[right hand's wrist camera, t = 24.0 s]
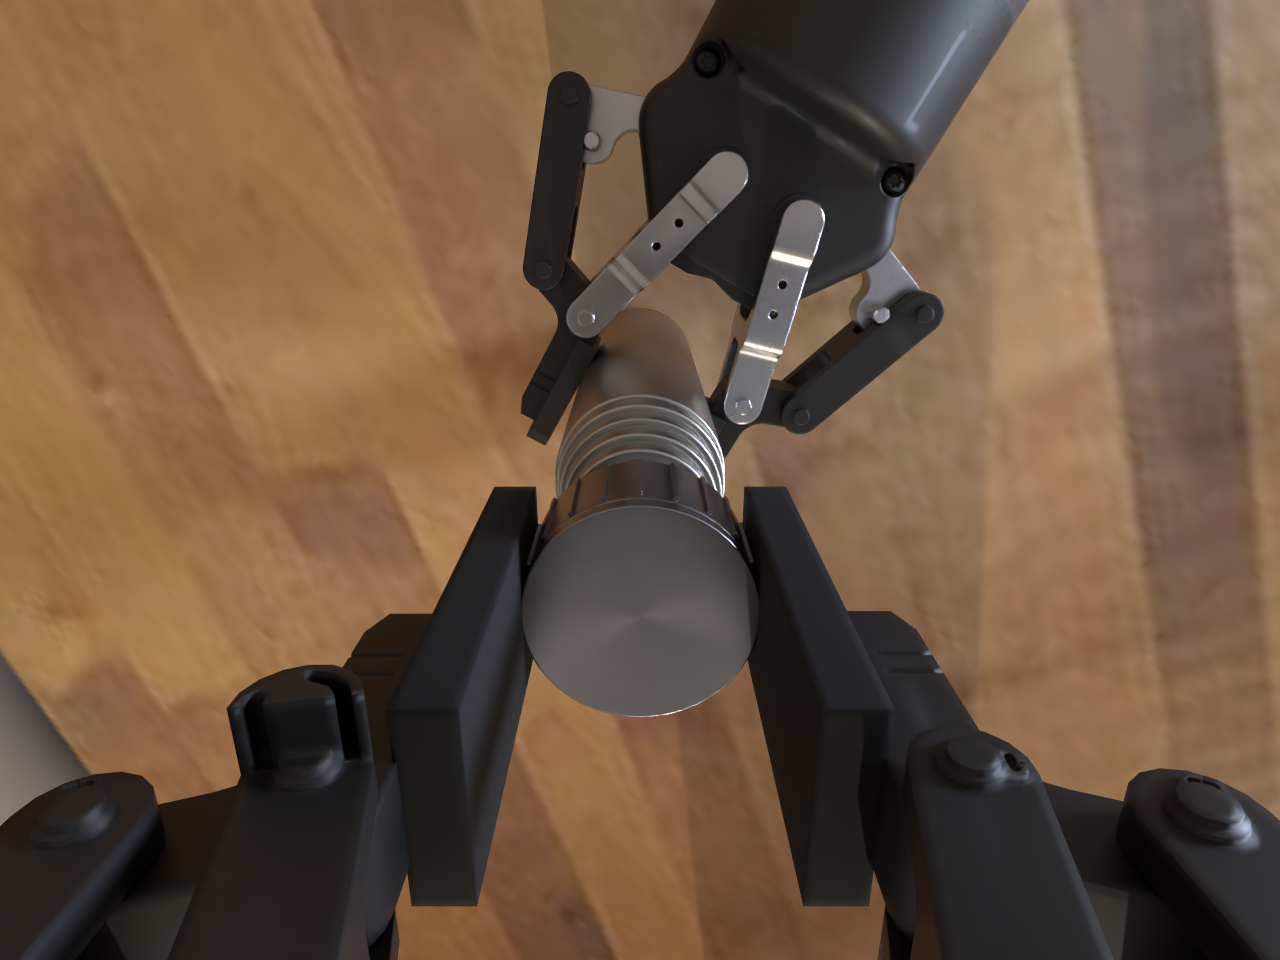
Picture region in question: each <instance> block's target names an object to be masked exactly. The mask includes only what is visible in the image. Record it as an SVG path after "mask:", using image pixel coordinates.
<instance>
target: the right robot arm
mask: <svg viewBox="0 0 1280 960" xmlns="http://www.w3.org/2000/svg"><path fill="white" fill-rule="evenodd" d="M537 526H538V517H537V497H536V487H494V489H493V491H492V493H491V495H490V497H489V499H488V501H487V503H486V505H485V507H484V509H483V511H482V513H481V515H480V517H479V519H478V522H477V524H476V526H475V528H474V530H473V532H472V534H471V536H470V538H469V540H468V542H467V544H466V546H465V548H464V550H463V552H462V554H461V556H460V558H459V560H458V562H457V565H456V567H455V569H454V571H453V573H452V575H451V577H450V579H449V581H448V583H447V585H446V587H445V589H444V591H443V593H442V595H441V597H440V599H439V601H438V603H437V606H436V608H435V610H434V612H433V614H389V615H388V616H386V617H385V618H384V619H382V620H381V621H379V622H378V623H377V624H375V625H374V626H372V627H371V628H370V629H368V630H367V631H366V632H364V634H363V636H362V637H361V639H360V640H359V642H358V644H357V645H356V647H355V649H354V650H353V652H352V653H351V658H348V660H347V661H346V663H345V665H344V666H343V668H342V667H338V666H334V665H306V666H301V667H296V668H291V669H286V670H282V671H280V672H277V673H275V674H272V675H270V676H267V677H265V678H262V679H260V680H258V681H256V682H255V683H253V684H252V685H250V686H249V687H247V688H246V689H244V690H243V691H241V692H240V693H239V694H238V695H237V696H236V698H235V699H234V700H233V701H232V702H231V704H230V705H229V706H228V707H227V712H228V717H229V722H230V726H231V731H232V735H233V740H234V745H235V749H236V754H237V759H238V763H239V768H240V772H241V776H240V779H239V781H238V784H237V785H236V786H234V787H230V788H227V789H223V790H220V791H217V792H213V793H209V794H204V795H200V796H195V797H191V798H186V799H182V800H177V801H172V802H168V803H163V804H159V805H158V803H157V799H156V795H155V792H154V788H153V786H152V785H151V784H150V783H149V782H148V781H147V780H146V779H145V778H144V777H142V776H140V775H135V774H130V773H125V772H113V773H103V774H94V775H91V776H87V777H83V778H81V779H76V780H73V781H70V782H67V783H64V784H62V785H60V786H58V787H56V788H54V789H52V790H50V791H48V792H46V793H44V794H42V795H40V796H38V797H36V798H35V799H33V800H32V801H31V802H29V803H28V804H27V805H25V806H24V807H23V808H21V809H20V810H19V811H17V812H16V813H15V814H13V815H12V816H11V817H10V818H8V819H7V820H6V821H5V822H4V823H3V824H2V825H1V826H0V960H397V959H398V949H399V934H398V927H397V920H396V913H395V907H396V904H397V901H398V898H399V895H400V892H401V889H402V886H403V883H404V880H405V877H406V874H408V881H409V889H410V896H411V904H412V906H477V904H478V900H479V895H480V891H481V886H482V882H483V878H484V873H485V869H486V864H487V860H488V856H489V851H490V847H491V842H492V838H493V834H494V829H495V825H496V820H497V816H498V811H499V807H500V803H501V798H502V794H503V789H504V785H505V781H506V776H507V772H508V767H509V763H510V759H511V754H512V750H513V745H514V741H515V737H516V732H517V728H518V723H519V719H520V715H521V710H522V706H523V701H524V697H525V693H526V688H527V684H528V679H529V675H530V671H531V666H532V662H533V657H532V656H531V654H530V651H529V649H528V647H527V645H526V642H525V639H524V635H523V622H522V604H521V595H522V590H523V585H524V582H525V579H526V575H527V572H528V568H527V567H525V566H526V562H527V559H528V556H529V553H530V549H531V546H532V543H533V539H534V536H535V533H536V530H537ZM743 527H744V530H745V533H746V536H747V540H748V543H749V546H750V549H751V553H752V556H753V559H754V562H755V566H752V569H753V572H754V576H755V579H756V582H757V586H758V589H759V614H758V630H757V639H756V642H755V645H754V647H753V649H752V651H751V654H750V656H749V658H748V659H747V660H748V664H749V668H750V673H751V677H752V682H753V686H754V690H755V695H756V699H757V704H758V708H759V712H760V717H761V721H762V726H763V730H764V734H765V739H766V743H767V748H768V752H769V756H770V761H771V765H772V770H773V774H774V778H775V783H776V787H777V792H778V796H779V800H780V805H781V809H782V814H783V818H784V823H785V827H786V831H787V836H788V840H789V845H790V849H791V853H792V858H793V862H794V867H795V871H796V875H797V880H798V884H799V889H800V893H801V897H802V902H803V906H869V900H870V892H871V885H872V877H873V870H874V872H875V875H876V878H877V881H878V884H879V887H880V889H881V892H882V895H883V898H884V901H885V904H886V906H885V913H884V920H883V927H882V934H881V941H880V948H879V955H878V960H1280V821H1279V820H1278V819H1277V818H1276V817H1275V816H1274V815H1273V814H1272V813H1271V812H1269V811H1268V810H1267V809H1265V808H1264V807H1263V806H1261V805H1260V804H1259V803H1257V802H1256V801H1254V800H1253V799H1252V798H1250V797H1249V796H1248V795H1246V794H1244V793H1242V792H1240V791H1238V790H1236V789H1234V788H1232V787H1230V786H1228V785H1226V784H1224V783H1222V782H1220V781H1218V780H1216V779H1212V778H1210V777H1207V776H1202V775H1200V774H1196V773H1192V772H1189V771H1182V770H1172V769H1161V768H1160V769H1155V770H1150V771H1145V772H1140V773H1139V774H1138V775H1137V776H1135V777H1134V778H1133V779H1132V780H1131V781H1130V782H1129V783H1128V786H1127V790H1126V794H1125V798H1124V801H1119V800H1114V799H1110V798H1105V797H1101V796H1096V795H1091V794H1087V793H1082V792H1078V791H1073V790H1069V789H1065V788H1062V787H1058V786H1055V785H1051V784H1048V783H1045V782H1043V781H1042V780H1041V778H1040V775H1039V773H1038V772H1037V770H1036V769H1035V767H1034V766H1033V765H1032V763H1031V762H1030V760H1029V759H1028V757H1026V756H1025V755H1024V754H1023V753H1021V752H1020V751H1019V750H1017V749H1016V748H1015V747H1013V746H1012V745H1011V744H1009V743H1008V742H1006V741H1004V740H1001V739H999V738H997V737H995V736H993V735H990V734H988V733H986V732H982V731H979V729H978V728H977V726H976V724H975V723H974V721H973V720H972V718H971V716H970V715H969V713H968V712H967V710H966V708H965V707H964V705H963V704H962V702H961V700H960V699H959V697H958V696H957V694H956V692H955V691H954V689H953V688H952V686H951V684H950V683H949V681H948V680H947V678H946V676H945V675H944V673H941V668H940V667H939V665H938V664H937V662H936V660H935V659H934V657H933V656H932V655H930V651H929V649H928V648H927V646H926V644H925V643H924V641H923V640H922V638H921V636H920V635H919V633H918V632H917V630H916V629H915V628H913V627H912V626H910V625H909V624H908V623H906V622H905V621H904V620H902V619H901V618H899V617H898V616H897V615H895V614H894V613H892V612H891V611H846V608H845V606H844V604H843V602H842V600H841V598H840V596H839V594H838V592H837V590H836V588H835V586H834V584H833V582H832V580H831V578H830V576H829V574H828V572H827V570H826V568H825V566H824V563H823V561H822V559H821V557H820V555H819V553H818V551H817V549H816V547H815V545H814V543H813V541H812V539H811V537H810V535H809V533H808V531H807V529H806V527H805V525H804V523H803V520H802V518H801V516H800V514H799V512H798V510H797V508H796V506H795V504H794V502H793V500H792V498H791V496H790V494H789V492H788V490H787V488H786V487H744V507H743Z"/></svg>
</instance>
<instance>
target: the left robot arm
mask: <svg viewBox="0 0 1280 960" xmlns="http://www.w3.org/2000/svg"><path fill="white" fill-rule="evenodd" d="M1028 1H1029V0H716V1H715V3H714V5H713V7H712V9H711V11H710V13H709V15H708V17H707V19H706V20H705V22H704V24H703V26H702V28H701V30H700V32H699V34H698V36H697V38H696V40H695V42H694V44H693V46H692V48H691V49H690V51H689V53H688V55H687V57H686V59H685V60H684V62H683V63H682V64H681V66H680V67H679V68H678V69H677V70H676V71H675V72H674V73H673V74H671V75H670V76H669V77H668V78H666V79H665V80H663V81H662V82H660V83H658V84H657V85H656V86H655V87H653V88H652V89H651V91H650V92H649V93H648V94H647V96H646V97H644V96H639V95H635V94H630V93H626V92H621V91H616V90H612V89H607V88H603V87H598V86H593V85H590V84H588V83H587V82H586V80H585V79H584V78H583V77H582V76H581V75H579V74H577V73H575V72H571V71H566V72H562V73H560V74H558V75H556V76H555V77H554V78H553V79H552V81H551V82H550V85H549V87H548V92H547V99H546V106H545V113H544V121H543V128H542V135H541V142H540V149H539V156H538V163H537V170H536V178H535V185H534V192H533V199H532V206H531V213H530V220H529V227H528V235H527V242H526V249H525V256H524V263H523V273H524V276H525V278H526V280H527V281H528V283H529V284H530V285H532V286H533V287H535V288H537V289H538V290H539V291H540V292H541V293H542V294H543V295H544V296H545V298H546V299H547V300H548V301H549V302H550V303H551V304H552V306H553V307H554V309H555V311H556V313H557V316H558V328H557V331H556V333H555V335H554V337H553V339H552V341H551V343H550V345H549V347H548V349H547V351H546V353H545V354H544V356H543V358H542V360H541V362H540V364H539V366H538V368H537V370H536V372H535V373H534V375H533V377H532V379H531V381H530V383H529V385H528V387H527V389H526V391H525V393H524V394H523V396H522V405H521V413H522V414H523V415H525V416H527V417H529V418H531V419H533V420H534V421H533V423H532V425H531V427H530V429H529V431H528V433H527V436H528V437H530V438H532V439H534V440H536V441H538V442H539V443H541V444H543V445H546V444H547V442H548V440H549V438H550V437H551V435H552V433H553V431H554V429H555V428H556V426H557V424H558V422H559V420H560V418H561V417H562V415H563V413H564V411H565V409H566V407H567V406H568V404H569V402H570V400H571V398H572V396H573V395H574V393H575V391H576V389H577V387H578V386H579V384H580V382H581V379H582V377H583V375H584V373H585V371H586V370H587V368H588V367H589V365H590V364H591V362H592V360H593V358H594V356H595V354H596V353H597V351H598V348H599V344H600V340H601V337H599V334H600V332H601V331H602V330H603V329H604V328H605V327H606V326H607V325H608V324H609V323H610V322H611V321H612V320H613V319H614V318H615V317H616V316H617V315H618V313H619V312H620V311H621V310H622V309H623V308H624V307H625V306H626V305H627V304H628V303H629V302H630V301H631V300H632V299H633V298H634V297H635V296H636V295H637V294H638V293H639V292H640V291H642V290H643V289H644V288H645V287H647V286H648V285H649V284H650V283H651V282H652V281H653V280H654V279H655V278H656V277H657V276H658V275H659V274H660V273H661V271H662V270H663V269H664V268H665V267H666V266H667V265H668V264H669V263H671V264H673V265H675V266H677V267H678V268H680V269H682V270H683V271H685V272H687V273H690V274H694V275H698V276H702V277H705V278H709V279H712V280H714V281H715V282H716V283H717V284H718V285H719V286H720V287H721V288H722V289H723V290H724V291H725V292H726V293H727V294H728V295H729V296H730V297H731V298H732V299H733V300H735V301H736V302H738V306H737V310H736V313H735V317H734V320H733V325H732V331H731V339H730V342H729V346H728V349H727V353H726V357H725V360H724V364H723V367H722V371H721V374H720V378H719V381H718V385H717V387H716V389H715V390H714V392H713V394H712V395H711V397H710V398H708V397H706V396H705V398H706V401H707V404H708V408H709V411H710V414H711V417H712V420H713V423H714V427H715V430H716V433H717V436H718V439H719V443H720V446H721V449H722V453H723V457H724V459H725V457H726V456H727V454H728V453H729V451H730V450H731V448H732V446H733V445H734V443H735V442H736V440H737V438H738V437H739V435H740V434H741V433H742V432H743V431H744V430H745V429H746V428H748V427H750V426H752V425H755V424H768V425H774V426H781V427H786V429H787V430H788V431H790V432H792V433H794V434H805V433H808V432H810V431H811V430H813V429H814V428H815V427H816V426H818V425H819V424H820V423H821V422H822V421H824V420H825V419H826V418H827V417H829V416H830V415H831V414H832V413H833V412H835V411H836V410H837V409H838V408H839V407H841V406H842V405H843V404H844V403H846V402H847V401H848V400H849V399H850V398H852V397H853V396H854V395H855V394H857V393H858V392H859V391H860V390H861V389H863V388H864V387H865V386H866V385H867V384H869V383H870V382H871V381H872V380H874V379H875V378H876V377H877V376H878V375H880V374H881V373H882V372H883V371H884V370H886V369H887V368H888V367H889V366H891V365H892V364H893V363H894V362H895V361H897V360H898V359H899V358H900V357H902V356H903V355H904V354H905V353H906V352H908V351H909V350H910V349H911V348H912V347H914V346H915V345H916V344H917V343H919V342H920V341H921V340H922V339H923V338H925V337H926V336H927V335H928V334H930V333H931V332H932V331H933V330H934V329H936V328H937V327H938V326H939V324H940V323H941V321H942V319H943V316H944V306H943V304H942V302H941V300H940V299H939V298H938V297H936V296H935V295H932V294H930V293H929V292H927V291H924V290H922V289H920V288H919V286H918V285H917V284H916V282H915V281H914V280H913V279H912V277H911V276H910V275H909V273H908V272H907V271H906V270H905V268H904V267H903V266H902V264H901V263H900V262H899V260H898V259H897V258H896V257H895V255H894V254H893V253H892V251H891V250H890V247H891V245H892V243H893V240H894V236H895V229H896V219H897V214H898V210H899V207H900V204H901V201H902V199H903V197H904V195H905V193H906V192H907V190H908V189H909V187H910V186H911V184H912V183H913V181H914V180H915V178H916V177H917V175H918V174H919V172H920V171H921V169H922V167H923V166H924V164H925V163H926V161H927V160H928V158H929V157H930V155H931V153H932V152H933V150H934V149H935V147H936V146H937V144H938V142H939V141H940V139H941V138H942V136H943V135H944V133H945V131H946V130H947V128H948V127H949V125H950V124H951V122H952V120H953V119H954V117H955V116H956V114H957V113H958V111H959V109H960V108H961V106H962V105H963V103H964V102H965V100H966V98H967V97H968V95H969V94H970V92H971V91H972V89H973V87H974V86H975V84H976V83H977V81H978V80H979V78H980V76H981V75H982V73H983V72H984V70H985V69H986V67H987V65H988V64H989V62H990V61H991V59H992V58H993V56H994V54H995V53H996V51H997V50H998V48H999V47H1000V45H1001V43H1002V42H1003V40H1004V39H1005V37H1006V36H1007V34H1008V32H1009V31H1010V29H1011V27H1012V26H1013V24H1014V23H1015V21H1016V20H1017V18H1018V17H1019V15H1020V14H1021V12H1022V11H1023V9H1024V7H1025V6H1026V4H1027V3H1028ZM630 132H639V137H640V146H641V156H642V165H643V174H644V184H645V193H646V203H647V212H648V220H647V221H646V222H645V223H644V224H643V225H642V226H641V227H640V228H639V229H638V230H637V231H636V232H635V233H634V234H633V236H632V237H631V238H630V239H629V240H628V241H627V242H626V243H625V244H624V245H623V246H622V247H621V248H620V249H619V250H618V252H617V253H616V254H615V255H614V256H613V257H612V258H611V259H610V260H609V261H608V263H607V264H606V265H605V266H604V267H603V268H602V269H601V270H600V271H599V272H598V273H597V274H596V275H595V276H594V277H593V278H592V279H591V280H590V281H589V279H588V278H587V277H586V276H585V275H584V274H583V272H582V271H581V270H580V269H579V268H578V267H577V265H576V264H575V263H574V262H573V261H572V260H571V256H572V250H573V243H574V237H575V231H576V225H577V218H578V212H579V206H580V200H581V193H582V187H583V181H584V175H585V168H586V163H587V164H592V165H598V164H602V163H604V162H605V161H607V160H608V159H609V158H610V156H611V155H612V153H613V150H614V147H615V144H616V142H617V141H618V140H619V138H621V137H622V136H623V135H624V134H627V133H630ZM860 272H861V273H862V285H861V288H860V290H859V292H858V293H857V294H856V295H855V296H854V297H853V299H852V301H851V303H850V306H849V313H850V317H851V319H852V321H851V322H850V323H849V324H848V325H846V326H845V327H844V328H843V329H842V330H841V331H839V332H838V333H837V334H836V335H835V336H834V337H832V338H831V339H830V340H829V341H828V342H826V343H825V344H824V345H823V346H822V347H821V348H819V349H818V350H817V351H816V352H815V353H814V354H812V355H811V356H810V357H809V358H808V359H806V360H805V361H804V362H803V363H802V364H801V365H799V366H798V367H797V368H796V369H795V370H794V371H792V372H791V373H790V374H789V375H788V376H786V377H785V378H784V379H783V380H782V381H779V380H773V379H771V377H772V374H773V371H774V367H775V364H776V362H777V359H778V358H779V357H780V356H781V354H782V352H783V350H784V347H785V344H786V340H787V337H788V334H789V331H790V328H791V324H792V321H793V318H794V315H795V311H796V308H797V305H798V302H799V300H800V299H802V298H805V297H807V296H809V295H811V294H813V293H816V292H818V291H820V290H822V289H824V288H827V287H829V286H831V285H833V284H836V283H838V282H840V281H842V280H844V279H847V278H849V277H851V276H853V275H855V274H858V273H860Z"/></svg>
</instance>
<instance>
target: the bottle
mask: <svg viewBox="0 0 1280 960" xmlns="http://www.w3.org/2000/svg"><path fill="white" fill-rule="evenodd" d="M599 337H601V340H600V344H599V348H598V351H597V353H596V354H595V356H594V358H593V360H592V362H591V364H590V365H589V367H588V368H587V370H586V371H585V373H584V375H583V377H582V379H581V382H580V384H579V388H578V391H577V394H576V397H575V400H574V404H573V407H572V410H571V413H570V416H569V420H568V423H567V426H566V429H565V433H564V436H563V439H562V442H561V445H560V449H559V452H558V456H557V461H556V472H555V473H556V494H557V498H558V497H559V496H560V495H561V494H562V493H563V492H564V491H565V490H566V489H567V488H568V487H569V486H571V485H572V484H573V483H574V480H575V478H577V477H579V478H582V477H583V476H585V475H587V474H589V473H591V472H593V471H595V470H597V469H600V468H603V467H604V464H607V463H609V465H612V464H617V463H623V462H632V461H637V459H642V461H649V462H658V463H663V464H668V465H670V463H674V464H675V467H678V468H681V469H684V470H686V471H688V472H690V473H692V474H694V475H696V476H698V477H699V478H700V477H701V476H703V477H704V478H705V481H706V482H707V483H708V484H709V485H710V486H712V487H713V488H714V489H715V490H716V491H717V492H718V493H719V494H720V495H721V496H722V497H723V498H724V493H725V463H724V457H723V453H722V449H721V446H720V443H719V439H718V436H717V433H716V430H715V427H714V423H713V420H712V417H711V414H710V411H709V408H708V404H707V401H706V398H705V395H704V392H703V388H702V385H701V382H700V379H699V376H698V372H697V369H696V366H695V363H694V360H693V356H692V353H691V350H690V347H689V344H688V341H687V339H686V336H685V334H684V333H683V331H682V330H681V328H680V327H679V326H678V325H677V324H676V323H675V322H674V321H673V320H672V319H670V318H669V317H668V316H666V315H664V314H662V313H660V312H657V311H654V310H650V309H631V310H627V311H623V312H621V313H619V314H618V315H617V316H616V317H615V318H614V319H613V320H612V321H611V322H610V323H609V324H608V325H607V326H606V327H605V328H604V329H603V330H602V331H601V332H600V334H599Z"/></svg>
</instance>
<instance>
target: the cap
mask: <svg viewBox="0 0 1280 960" xmlns="http://www.w3.org/2000/svg"><path fill="white" fill-rule="evenodd" d="M752 566H755V562H754V559H753V556H752V553H751V549H750V546H749V543H748V540H747V536H746V533H745V530H744V527H743V524H742V522H741V523H738V521H737V519H736V516H735V514H734V512H733V511H732V509H731V507H730V504H729V500H728V498H727V497H726V496H725V497H724V498H723V497H722V496H721V495H720V494H719V493H718V492H717V491H716V490H715V489H714V488H713V487H712V486H710V485H709V484H708V483H707V482H706V481H705V478H704V477H703V476H701V477H700V478H699V477H698V476H696V475H694V474H692V473H690V472H688V471H686V470H684V469H681V468H678V467H675V464H674V463H670V465H668V464H663V463H658V462H649V461H642V459H637V461H632V462H623V463H617V464H612V465H609V463H607V464H604V467H603V468H600V469H597V470H595V471H593V472H591V473H589V474H587V475H585V476H583V477H582V478H579V477H577V478H575V480H574V483H573V484H572V485H571V486H569V487H568V488H567V489H566V490H565V491H564V492H563V493H562V494H561V495H560V496H559V497H558V498H557V499H556V498H553V500H552V501H551V505H550V508H549V511H548V512H547V514H546V516H545V518H544V520H543V523H542V525H541V524H538V526H537V530H536V533H535V536H534V539H533V543H532V546H531V549H530V553H529V556H528V559H527V562H526V566H525V567H527V568H528V572H527V575H526V579H525V582H524V585H523V590H522V595H521V604H522V622H523V635H524V639H525V642H526V645H527V647H528V649H529V651H530V654H531V656H532V657H533V659H534V661H535V662H536V664H537V666H538V667H539V668H540V670H541V671H542V672H543V673H544V675H545V676H546V677H547V678H548V679H549V680H550V681H551V682H552V683H553V684H554V685H555V686H556V687H557V688H558V689H560V690H561V691H563V692H564V693H565V694H567V695H568V696H569V697H571V698H573V699H575V700H576V701H578V702H580V703H582V704H584V705H586V706H589V707H591V708H593V709H596V710H599V711H603V712H606V713H610V714H615V715H621V716H630V717H652V716H660V715H666V714H671V713H675V712H678V711H682V710H685V709H687V708H690V707H692V706H695V705H697V704H699V703H701V702H703V701H705V700H707V699H708V698H710V697H712V696H713V695H714V694H716V693H717V692H719V691H720V690H721V689H723V688H724V687H725V686H726V685H727V684H728V683H729V682H730V681H731V680H732V679H733V678H734V677H735V676H736V675H737V673H738V672H739V671H740V670H741V669H742V667H743V665H744V664H745V662H746V661H747V659H748V658H749V656H750V654H751V651H752V649H753V647H754V645H755V642H756V639H757V630H758V614H759V589H758V586H757V582H756V579H755V576H754V572H753V569H752Z"/></svg>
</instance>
